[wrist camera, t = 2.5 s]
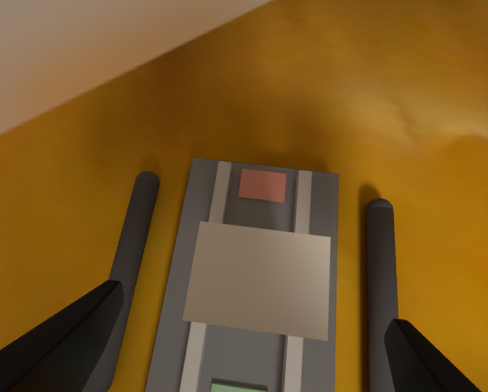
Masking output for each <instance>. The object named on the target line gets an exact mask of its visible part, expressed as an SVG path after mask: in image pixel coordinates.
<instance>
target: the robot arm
mask: <svg viewBox="0 0 488 392" xmlns="http://www.w3.org/2000/svg"><path fill="white" fill-rule="evenodd" d="M124 301H125V296H124V290H123V285H122V282H121V281H118V280H107V281H106V282H104V283H103V284H101V285H99V286H98V287H96V288H95V289H93V290H92V291H90V292H89V293H87V294H86V295H84V296H83V297H81V298H79V299H78V300H76V301H75V302H73V303H72V304H70V305H69V306H67V307H66V308H64V309H63V310H61V311H59V312H58V313H56V314H55V315H53V316H52V317H50V318H49V319H47V320H46V321H44V322H43V323H41V324H39V325H38V326H36V327H35V328H33V329H32V330H30V331H29V332H27V333H26V334H24V335H23V336H21V337H19V338H18V339H16V340H15V341H13V342H12V343H10V344H9V345H7V346H6V347H4V348H3V349H1V350H0V392H82V391H83V389H84V387H85V385H86V384H87V382H88V380H89V378H90V376H91V374H92V372H93V371H94V369H95V367H96V365H97V363H98V361H99V359H100V358H101V356H102V354H103V352H104V350H105V348H106V345H107V343H108V341H109V338H110V336H111V334H112V331H113V329H114V326H115V324H116V322H117V319H118V317H119V315H120V312H121V310H122V307H123V305H124ZM384 344H385V348H386V353H387V358H388V362H389V367H390V371H391V376H392V381H393V385H394V389H395V392H481V391H480V390H479V389H478V388H477V387H476V386H475V385H474V384H473V383H472V382H471V381H470V380H469V379H468V378H467V377H466V376H465V375H464V374H463V373H462V372H461V371H460V370H459V369H457V368H456V367H455V366H454V365H453V364H452V363H451V362H450V361H449V360H448V359H447V358H446V357H445V356H444V355H443V354H442V353H441V352H440V351H439V350H438V349H437V348H436V347H435V346H434V345H433V344H432V343H431V342H429V341H428V340H427V339H426V338H425V337H424V336H423V335H422V334H421V333H420V332H419V331H418V330H417V329H416V328H415V327H414V326H413V325H412V324H411V323H410V322H409V321H407V320H404V319H397V318H394V319H392V320H391V322H390V324H389V326H388V328H387V330H386V332H385V334H384Z"/></svg>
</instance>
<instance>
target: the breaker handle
mask: <svg viewBox="0 0 488 392" xmlns="http://www.w3.org/2000/svg"><path fill="white" fill-rule="evenodd" d="M330 241H331V237H325V236H317V235H309V234H301V233H293V232H285V231H277V230H268V229H260V228H252V227H244V226H236V225H228V224H220V223H212V222H204V221H200V225H199V231H198V236H197V242H196V247H195V253H194V258H193V264H192V269H191V275H190V280H189V286H188V292H187V297H186V303H185V308H184V314H183V319H182V320H183V321H190V322H197V323H204V324H211V325H219V326H226V327H233V328H240V329H247V330H254V331H261V332H268V333H275V334H282V335H289V336H296V337H303V338H310V339H317V340H324V341H328V315H329V278H330Z"/></svg>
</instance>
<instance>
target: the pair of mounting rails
mask: <svg viewBox="0 0 488 392" xmlns="http://www.w3.org/2000/svg"><path fill="white" fill-rule="evenodd" d="M159 184H160V183H159V179H158V177H157V176H156V175H155V174H154V173H152V172H142V173H141V174H139V175H138V176H137V178H136V180H135V184H134V188H133V192H132V195H131V199H130V203H129V206H128V210H127V214H126V218H125V221H124V225H123V229H122V232H121V236H120V240H119V243H118V247H117V251H116V255H115V258H114V262H113V266H112V269H111V273H110V277H109V280H118V281H121V282H122V285H123V290H124V296H125V301H124V305H123V307H122V310H121V312H120V315H119V317H118V319H117V322H116V324H115V326H114V329H113V331H112V334H111V336H110V338H109V341H108V343H107V345H106V348H105V350H104V352H103V354H102V356H101V358H100V359H99V361H98V363H97V365H96V367H95V369H94V371H93V372H92V374H91V376H90V378H89V380H88V382H87V384H86V385H85V387H84V389H83V391H82V392H107V391H108V390H109V388H110V386H111V384H112V381H113V377H114V373H115V369H116V365H117V360H118V356H119V352H120V348H121V344H122V339H123V335H124V331H125V327H126V323H127V319H128V314H129V310H130V306H131V302H132V298H133V293H134V289H135V285H136V281H137V277H138V273H139V268H140V264H141V260H142V256H143V252H144V247H145V243H146V239H147V235H148V231H149V226H150V222H151V218H152V214H153V210H154V206H155V201H156V197H157V193H158V189H159ZM367 271H368V337H369V392H395V389H394V385H393V381H392V376H391V371H390V367H389V362H388V358H387V353H386V348H385V344H384V334H385V332H386V330H387V328H388V326H389V324H390V322H391V320H392V319H394V318H397V319H398V298H397V277H396V256H395V234H394V213H393V206H392V205H391V203H390V202H389V201H387V200H385V199H382V198H378V199H374V200H372V201H371V202H370V203H369V204H368V206H367Z"/></svg>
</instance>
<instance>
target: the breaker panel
mask: <svg viewBox="0 0 488 392" xmlns="http://www.w3.org/2000/svg"><path fill="white" fill-rule="evenodd" d="M338 179H339V174H336V173H327V172H318V171H309V170H300V169H291V168H282V167H273V166H264V165H255V164H246V163H237V162H228V161H219V160H210V159H201V158H193V160H192V165H191V170H190V175H189V179H188V184H187V189H186V194H185V199H184V204H183V209H182V214H181V219H180V223H179V228H178V233H177V238H176V243H175V248H174V253H173V258H172V262H171V267H170V272H169V277H168V282H167V287H166V292H165V297H164V302H163V306H162V311H161V316H160V321H159V326H158V331H157V336H156V341H155V346H154V350H153V355H152V360H151V365H150V370H149V375H148V380H147V385H146V390H145V392H334V389H335V336H336V284H337V231H338ZM200 221H204V222H212V223H220V224H228V225H236V226H244V227H252V228H260V229H268V230H277V231H285V232H293V233H301V234H309V235H317V236H325V237H331V241H330V278H329V315H328V341H324V340H317V339H310V338H303V337H296V336H289V335H282V334H275V333H268V332H261V331H254V330H247V329H240V328H233V327H226V326H219V325H211V324H204V323H197V322H190V321H183V320H182V319H183V314H184V308H185V303H186V297H187V292H188V286H189V280H190V275H191V269H192V264H193V258H194V253H195V247H196V242H197V236H198V231H199V225H200Z"/></svg>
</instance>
